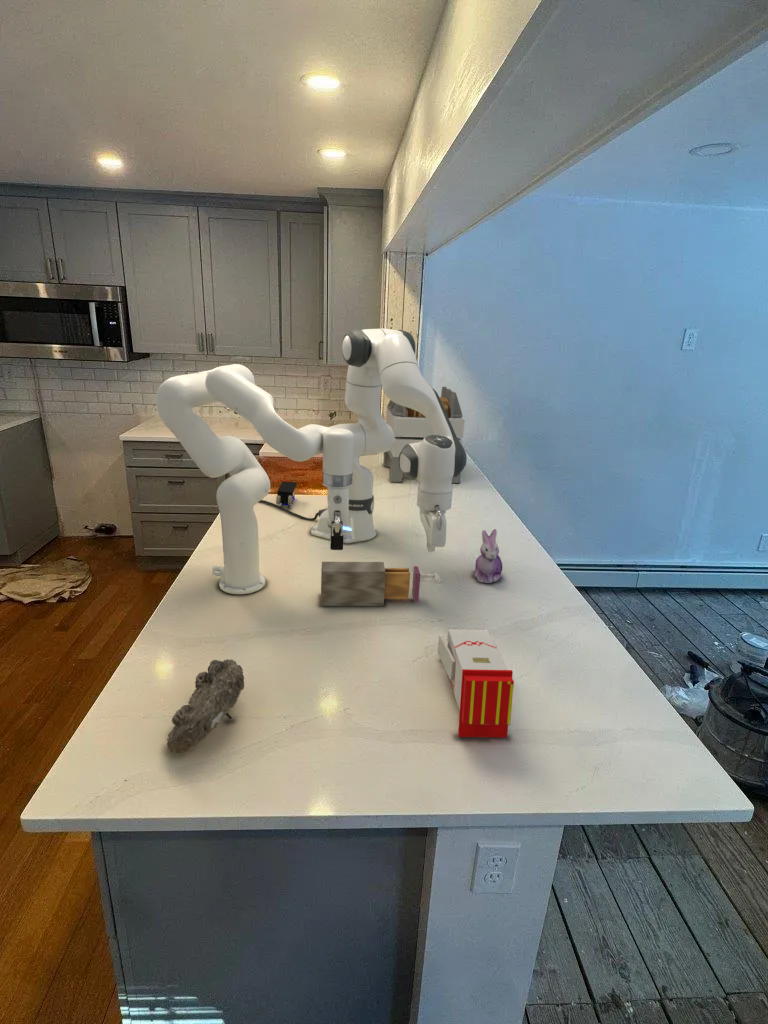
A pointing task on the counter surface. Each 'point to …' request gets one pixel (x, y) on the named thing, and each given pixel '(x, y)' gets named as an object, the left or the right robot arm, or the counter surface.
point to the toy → (478, 682)
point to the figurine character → (286, 493)
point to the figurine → (488, 559)
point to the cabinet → (352, 583)
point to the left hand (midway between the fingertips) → (336, 541)
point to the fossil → (206, 705)
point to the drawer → (405, 582)
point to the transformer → (417, 429)
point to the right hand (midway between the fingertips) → (430, 549)
